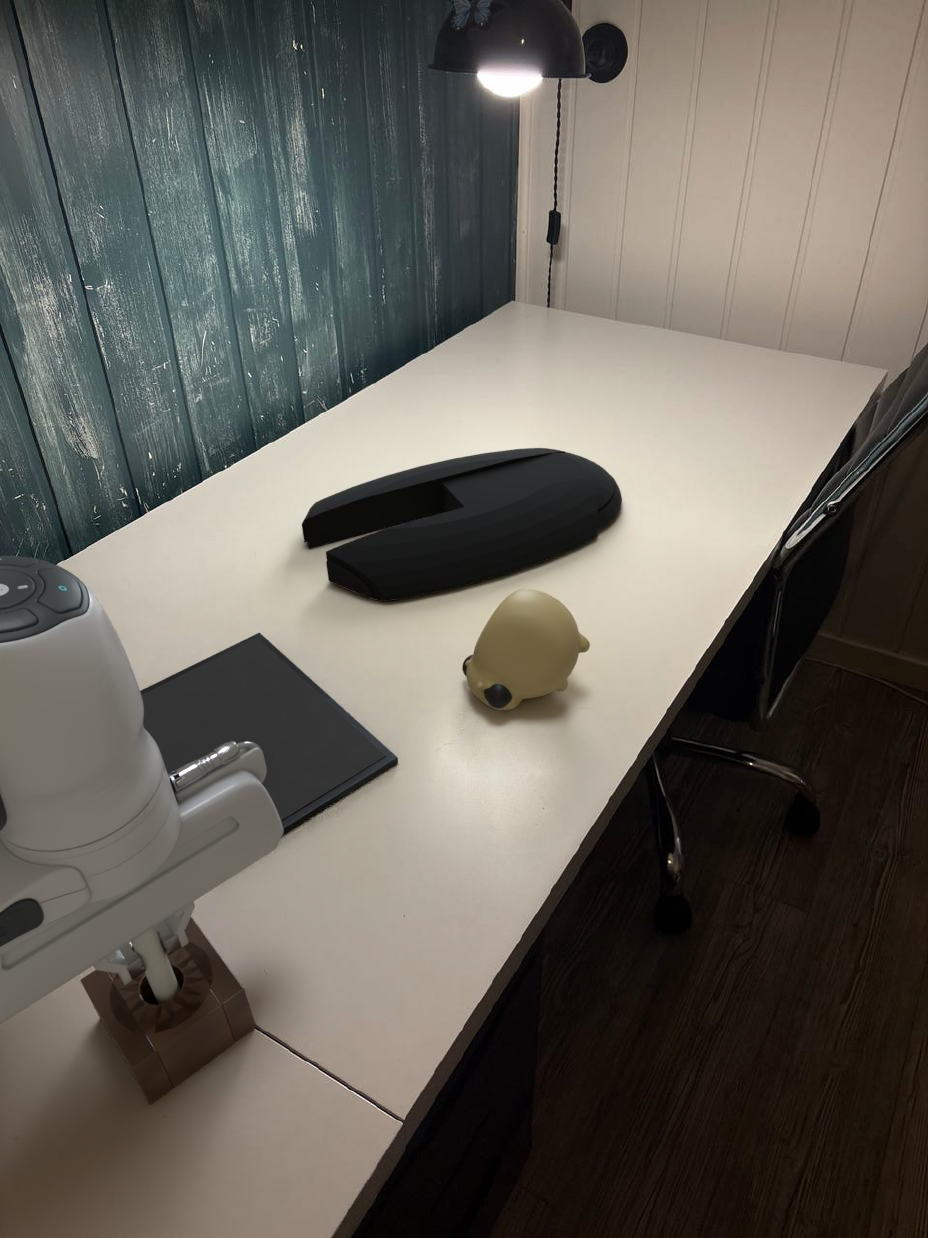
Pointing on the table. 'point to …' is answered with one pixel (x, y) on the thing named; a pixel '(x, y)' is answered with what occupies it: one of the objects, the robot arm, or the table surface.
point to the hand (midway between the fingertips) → (152, 957)
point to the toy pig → (524, 650)
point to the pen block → (173, 1016)
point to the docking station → (461, 521)
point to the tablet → (265, 726)
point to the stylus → (156, 966)
